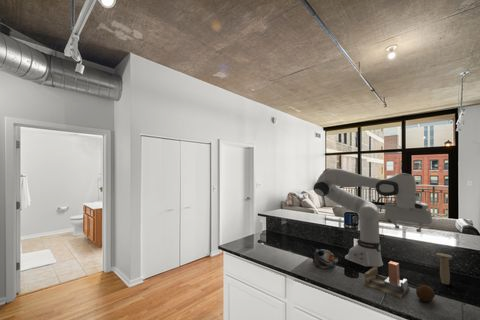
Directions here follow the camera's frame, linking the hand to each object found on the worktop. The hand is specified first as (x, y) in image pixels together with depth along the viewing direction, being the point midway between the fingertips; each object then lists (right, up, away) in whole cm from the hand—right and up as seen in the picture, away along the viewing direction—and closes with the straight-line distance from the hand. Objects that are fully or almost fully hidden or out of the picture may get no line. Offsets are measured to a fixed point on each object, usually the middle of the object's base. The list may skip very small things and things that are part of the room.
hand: (407, 230), depth 119 cm
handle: (+22, -29, +2) cm, 36 cm away
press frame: (-12, -29, -2) cm, 32 cm away
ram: (-9, -27, -5) cm, 29 cm away
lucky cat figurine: (-34, -31, +25) cm, 52 cm away
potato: (-2, -29, -14) cm, 32 cm away
